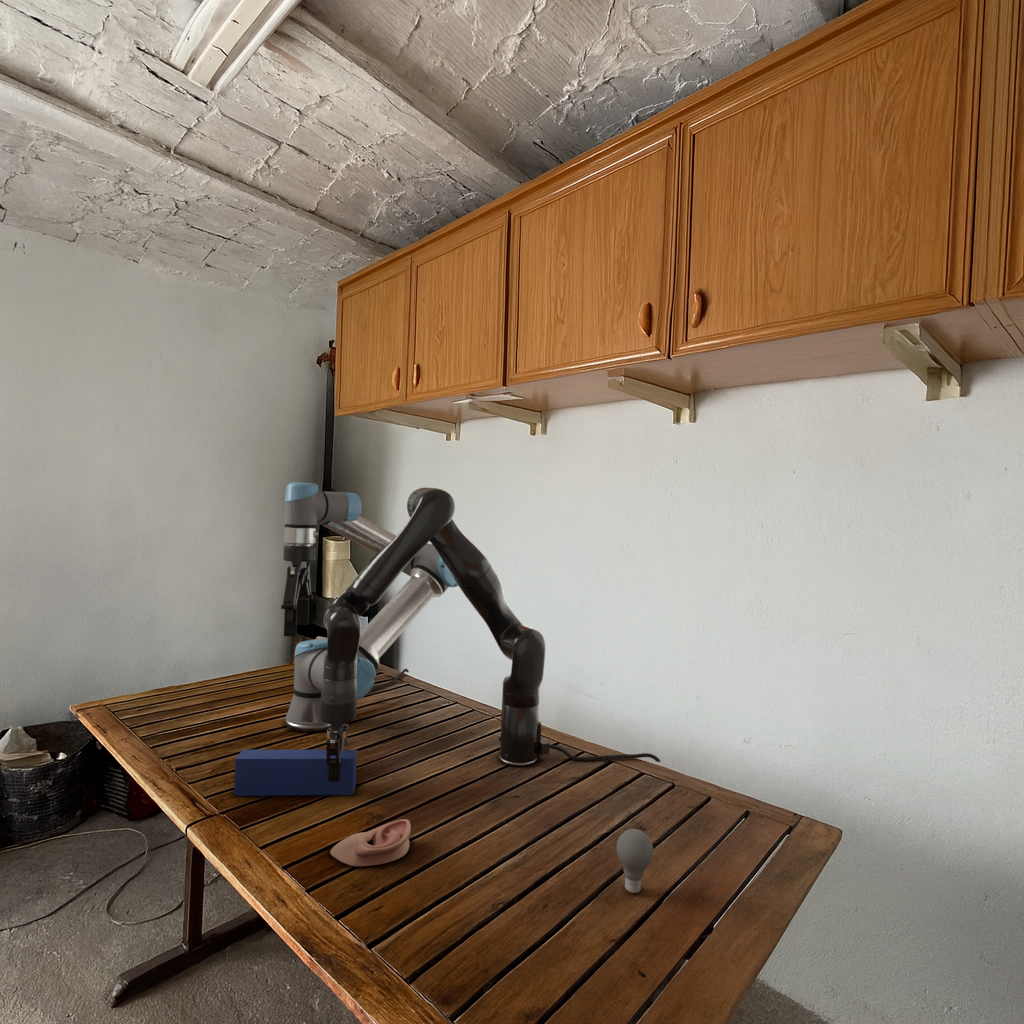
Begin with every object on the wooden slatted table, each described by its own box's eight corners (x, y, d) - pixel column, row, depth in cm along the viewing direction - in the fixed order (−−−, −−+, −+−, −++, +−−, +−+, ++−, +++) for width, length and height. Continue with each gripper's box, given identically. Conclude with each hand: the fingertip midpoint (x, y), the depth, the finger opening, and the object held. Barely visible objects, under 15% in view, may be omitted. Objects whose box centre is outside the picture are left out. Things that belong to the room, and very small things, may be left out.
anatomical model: (322, 838, 110) (352, 807, 121) (321, 861, 110) (351, 828, 121) (394, 850, 107) (417, 817, 119) (393, 873, 107) (416, 838, 119)
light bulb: (610, 879, 108) (613, 822, 108) (644, 879, 109) (647, 822, 109) (619, 902, 102) (622, 840, 102) (655, 901, 103) (658, 840, 103)
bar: (233, 796, 132) (235, 758, 132) (241, 785, 137) (242, 749, 137) (352, 795, 135) (354, 758, 135) (355, 784, 140) (357, 749, 140)
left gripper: (304, 549, 145) (301, 641, 145) (324, 541, 170) (321, 620, 170) (270, 548, 144) (267, 641, 144) (295, 540, 169) (292, 620, 169)
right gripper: (352, 708, 130) (348, 790, 130) (361, 687, 144) (358, 761, 145) (314, 708, 129) (311, 790, 130) (327, 687, 143) (324, 761, 144)
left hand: (296, 630), depth 157 cm, fingers open, 13 cm apart
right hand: (336, 774), depth 137 cm, fingers closed on bar, 5 cm apart
